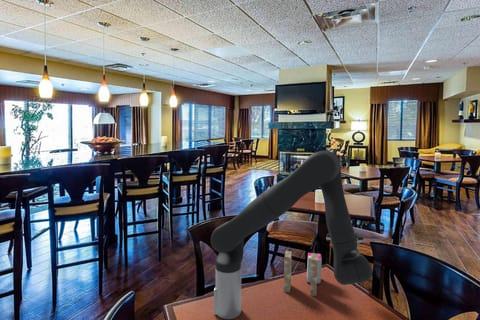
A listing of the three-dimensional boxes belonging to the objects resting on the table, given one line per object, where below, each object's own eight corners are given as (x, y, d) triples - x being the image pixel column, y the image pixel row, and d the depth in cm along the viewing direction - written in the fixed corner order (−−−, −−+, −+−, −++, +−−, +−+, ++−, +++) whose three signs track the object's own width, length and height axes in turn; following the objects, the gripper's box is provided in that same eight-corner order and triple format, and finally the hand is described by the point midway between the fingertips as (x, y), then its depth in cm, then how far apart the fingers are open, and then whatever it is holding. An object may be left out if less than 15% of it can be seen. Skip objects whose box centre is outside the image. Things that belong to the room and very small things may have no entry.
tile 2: (310, 295, 121) (311, 259, 120) (310, 287, 127) (311, 253, 125) (316, 296, 121) (317, 260, 119) (316, 288, 127) (317, 253, 125)
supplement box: (320, 284, 129) (321, 259, 128) (306, 283, 130) (307, 258, 129) (320, 278, 135) (321, 253, 133) (306, 276, 136) (307, 252, 135)
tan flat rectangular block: (283, 291, 124) (284, 256, 122) (285, 284, 130) (285, 250, 128) (289, 292, 123) (290, 257, 121) (290, 285, 129) (291, 251, 127)
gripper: (368, 239, 102) (361, 222, 119) (326, 235, 106) (324, 220, 122) (367, 260, 103) (360, 241, 120) (325, 256, 107) (324, 238, 123)
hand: (342, 230), depth 121 cm, fingers closed
